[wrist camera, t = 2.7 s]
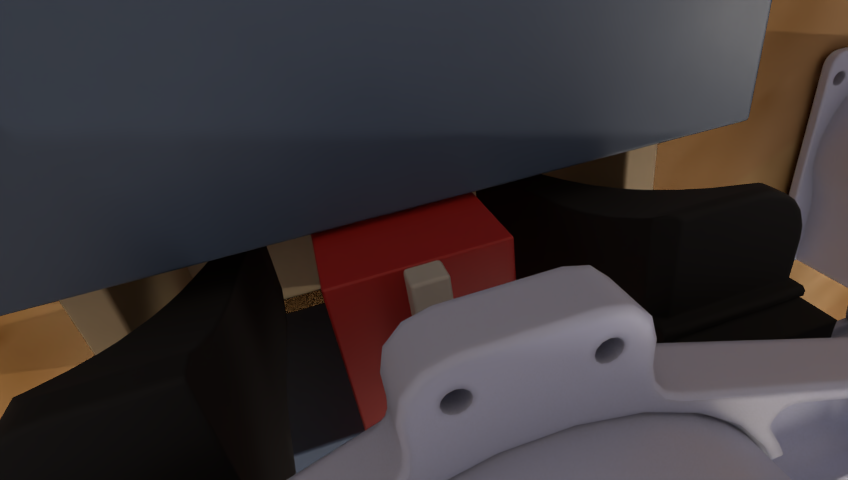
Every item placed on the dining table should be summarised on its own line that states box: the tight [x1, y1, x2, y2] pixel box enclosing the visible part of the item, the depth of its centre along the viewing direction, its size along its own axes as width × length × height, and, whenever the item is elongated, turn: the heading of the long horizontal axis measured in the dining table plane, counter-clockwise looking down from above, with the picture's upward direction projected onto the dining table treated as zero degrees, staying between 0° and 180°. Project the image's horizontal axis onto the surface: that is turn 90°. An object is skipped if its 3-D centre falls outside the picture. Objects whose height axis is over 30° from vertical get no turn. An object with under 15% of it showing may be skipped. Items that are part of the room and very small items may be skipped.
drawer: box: [59, 144, 657, 474], centre depth 13 cm, size 15×13×6 cm
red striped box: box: [311, 192, 516, 430], centre depth 11 cm, size 5×3×8 cm, turn 9°
